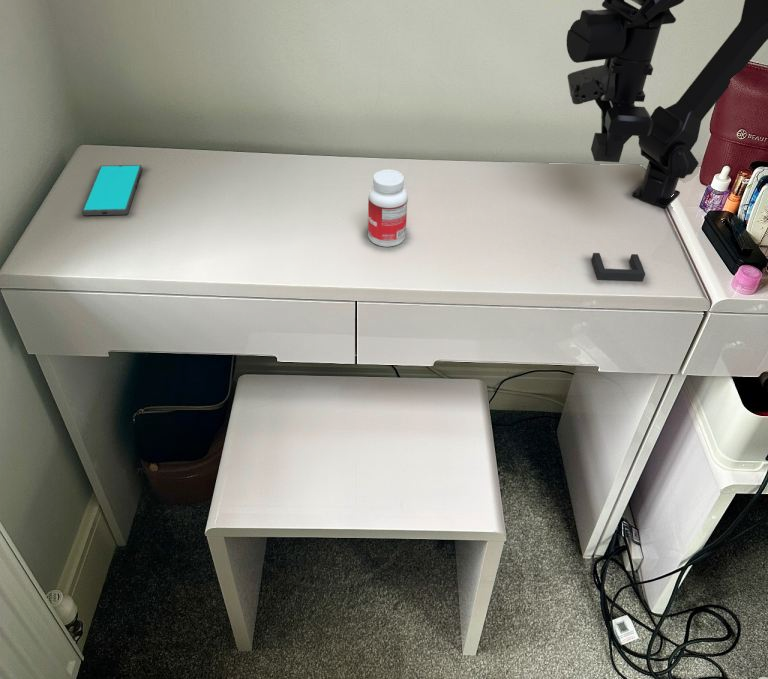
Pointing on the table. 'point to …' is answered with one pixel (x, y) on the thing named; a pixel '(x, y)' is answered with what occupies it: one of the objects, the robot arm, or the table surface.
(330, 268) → the table surface
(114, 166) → the smartphone
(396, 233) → the pill bottle
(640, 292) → the table surface
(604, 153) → the dark grey block
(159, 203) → the table surface
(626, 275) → the black u-shaped bracket
